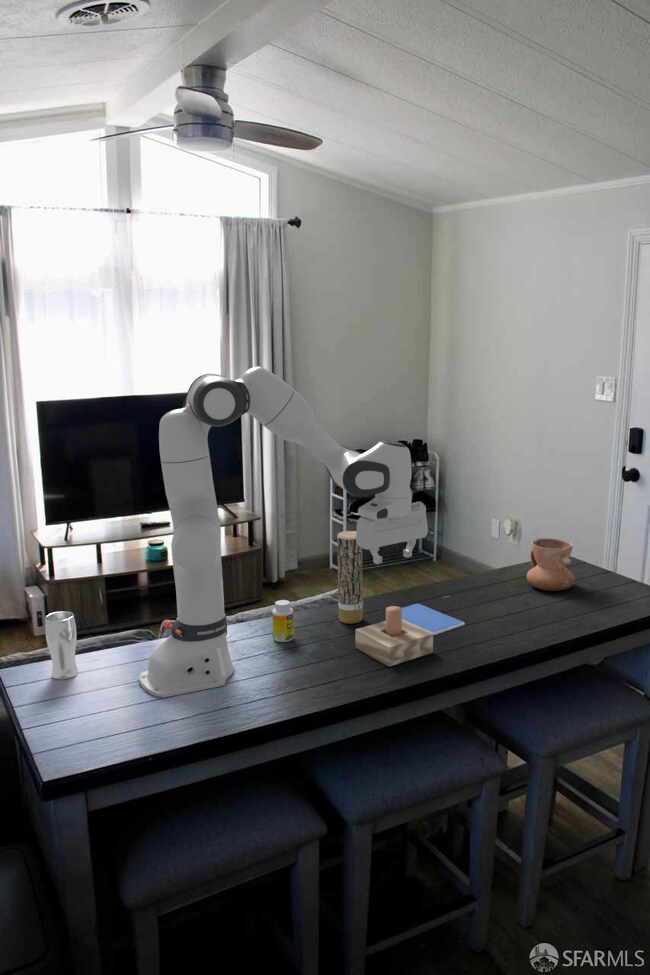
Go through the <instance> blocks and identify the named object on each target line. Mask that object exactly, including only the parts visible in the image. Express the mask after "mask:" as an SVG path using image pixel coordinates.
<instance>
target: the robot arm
mask: <svg viewBox="0 0 650 975" xmlns="http://www.w3.org/2000/svg"><path fill="white" fill-rule="evenodd" d="M181 407H182V408H177V409H172V410H170V411H168V412H165V414H164V415H163V416H162V417H161V418H160V420H159V425H158V426H159V428H158V429H159V430H158V442H159V443H158V444H159V447H158V448H159V455H160V457H159V458H160V464H161V472H162V477H163V483H164V490H165V492H164V493H165V496H166V499H167V504H168V508H169V510H170V511H169V512H170V517H171V521H172V526H173V527H172V528H173V531H172V532H173V535H172V539H171V544H170V546H171V547H170V548H171V557H172V559H171V560H172V568H173V576H174V583H175V584H174V585H175V591H176V592H175V594H176V611H177V617H176V618H175V621H174V622H172V621H171V620H169V619H165V620H164V621H163V628H165V629H166V630H168V631H170V632H171V633H170V635H169V636H168V637H167V638H166V639H165V640H164V641H163V642H161V644H160V645H159V646H158V647H156V649H155V650H153V651H152V652H151V654H150V656H149V659H148V664H147V665H148V666H147V667H148V668H147V670H144V671H141V673H139V677H138V682H139V685H140V686H141V687H142V689H143V690H144V691H145V692H147V693H148V694H150V695H152V696H155V697H158V698H168V697H173V696H180V695H182V694H188V693H193V692H198V691H203V690H209V689H213V688H218V687H223V686H225V684H226V683H227V680H228V679H229V677H230V676H232V675H233V673H234V671H235V667H234V665H233V662H232V659H231V658H232V657H231V654H230V652H229V645H228V640H227V635H228V622H227V614H226V613H225V600H224V599H225V598H224V596H225V595H224V579H223V578H224V577H223V567H222V548H221V547H222V546H221V545H222V542H221V541H222V540H221V539H222V531H221V522H220V516H219V510H218V504H217V498H216V491H215V485H214V480H213V471H212V464H211V456H210V448H209V442H208V435H209V431H210V428H212V427H223V426H224V427H225V426H227V425H230V424H231V423H233V422H234V421H236V420H238V419H239V418H240V417H242V416H243V415H245V414H248V415H249V416H251V417H253V418H254V419H255V420H256V421H257V422H259V423H260V424H261V425H262V426H263V427H265V428H266V429H267V430H268V431H269V432H271V433H273V434H274V435H276V436H277V437H279V438H280V439H282V440H284V441H287V442H292V443H295V444H298V445H300V446H302V447H303V448H305V450H306V451H308V452H309V453H310V454H311V455H312V456H314V457H315V458H316V459H317V460H318V461H319V462H321V464H323V466H324V467H325V469H326V470H327V473H328V476H329V477H330V479H331V480H332V482H333V483H334V484H335V485H336V486H338V487H339V488H341V489H343V490H344V491H345V492H346V493H348V494H349V495H350V496H353V497H357V498H365V497H370V496H375V497H374V498H373V499H370V500H369V501H368V502H366V503H364V504H363V505H361V506H359V507H358V509H357V514H358V516H360V517H359V518H358V520H357V523H356V529H355V530H356V542H357V544H358V546H359V547H361V548H362V550H363V549H364V550H368V551H369V552H370V554H371V555H372V557H373V558H372V559H373V560H372V561H373V563H374V564H375V565H379V564H382V563H383V556H381V555H379V553H378V552H379V551H380V548H381V547H386V546H389V545H394V544H399V543H404V542H406V543H407V544H406V547H405V548H404V549H402V550H403V551H402V555H403V557H404V558H410V557H413V550H414V547H415V546H416V544H417V540H418V539H423V538H426V537H427V535H428V532H429V528H428V519H427V518H428V517H427V508H426V507H427V506H426V505H425V503H423V502H422V501H416V502H412V491H411V487H410V486H411V480H412V457H411V452H410V449H409V448H408V446H407V445H405V444H404V443H402V442H398V441H394V440H388V439H387V440H380V441H378V442H377V443H376V444H375V445H374V446H373V447H371V448H370V449H369V450H367V451H365V452H364V451H363V452H362V453H361V452H359V451H358V450H355V449H353V448H350V447H345V446H342V445H341V444H339V443H338V442H337V441H336V440H335V439H334V438H333V437H332V436H330V435H329V434H328V433H327V432H326V431H325V430H323V429H322V428H321V427H320V425H318V423H317V421H316V418H315V412H314V410H313V408H312V407H311V406H310V404H309V403H308V402H307V400H306V399H305V398H304V397H303V396H302V395H301V394H300V393H299V392H298V391H297V390H296V389H295V388H293V387H292V386H291V385H290V384H289V383H288V382H286V381H285V380H283V379H282V378H280V377H279V376H278V375H276V374H274V373H273V372H272V371H269V370H267V368H264V367H261V366H254V367H250V368H249V369H247V370H246V371H244V372H243V373H242V374H241V376H240V377H239V378H237V379H234V380H233V379H229V378H228V377H225V376H224V375H219V374H216V373H206V374H202V375H200V376H198V377H197V378H195V379H194V380H193V382H191V384H190V386H189V387H188V390H187V393H186V396H185V399H184V401H183V403H182V406H181Z"/></svg>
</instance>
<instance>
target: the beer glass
mask: <svg viewBox="0 0 650 975" xmlns="http://www.w3.org/2000/svg"><path fill="white" fill-rule="evenodd" d="M44 624H45V629H44V630H45V631H44V632H45V640H46V643H47V648H48V650H49V655H50V657H51V663H52V668H51V670H52V671H51V677H52V679H54V680H58V681H59V680H61V681H63V680H64V681H65V680H68V679H69V680H70V679H73V678H74V677H76V676H77V675H78V673H79V670H78V666H77V662H76V648H77V625H76V620H75V614H74V613H73V612H71V611H66V610H63V611H62V610H61V611H55V612H51V613H49V614H48V615H46V616H45V617H44Z"/></svg>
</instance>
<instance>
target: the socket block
mask: <svg viewBox="0 0 650 975" xmlns="http://www.w3.org/2000/svg"><path fill="white" fill-rule="evenodd" d="M354 630H355V633H354V634H355V636H354V637H355V641H354V642H355V649H357V650H359V651H360V652H363V653H364V654H366V655H368V656H370V657H371V658H373V659H375V660H377V661H378V662H380V663H382V664H384V665H385V666H387V667H393V666H395V665H399V664H401V663H405V662H408V661H410V660H414V659H416V658H417V659H418V658H420V657H423V656H426V655H427V656H428V655H430V654H432V653H434V635H433V634H432V633H430V632H428V631H426V630H424V629H422V628H420V627H417V626H415V625H413V624H411V623H409V622H407V621H405V620H403V619H402V635H398V636H395V637H391V636H389V635H387V634H386V620H383V621H380V622H377V623H373V624H369V625H366V626H363V627H360V628H356V629H354Z"/></svg>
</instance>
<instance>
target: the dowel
mask: <svg viewBox="0 0 650 975" xmlns="http://www.w3.org/2000/svg"><path fill="white" fill-rule="evenodd" d="M402 608H403V607H400V606H396V605H391V606H387V607H385V621H386V634H387V635H389V636H391V637H395V636H398V635H402Z"/></svg>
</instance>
